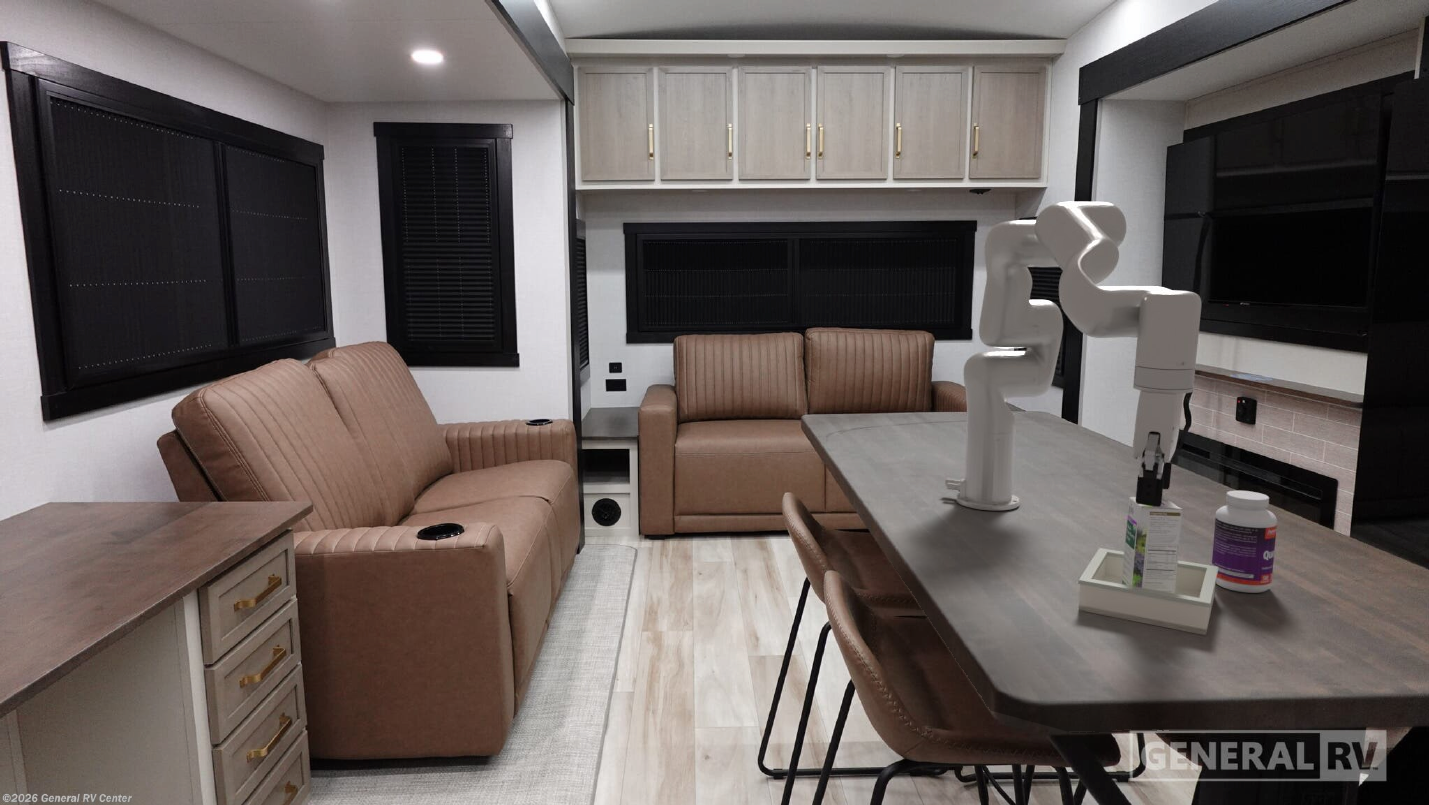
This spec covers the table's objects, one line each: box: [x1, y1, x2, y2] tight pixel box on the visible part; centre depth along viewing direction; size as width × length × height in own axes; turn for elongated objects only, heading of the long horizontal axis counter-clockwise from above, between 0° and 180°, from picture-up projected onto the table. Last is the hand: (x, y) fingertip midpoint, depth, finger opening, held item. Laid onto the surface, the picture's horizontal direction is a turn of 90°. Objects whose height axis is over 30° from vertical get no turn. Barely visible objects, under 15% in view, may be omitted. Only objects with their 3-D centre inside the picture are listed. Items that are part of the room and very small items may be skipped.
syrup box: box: [1122, 496, 1183, 594], centre depth 125 cm, size 6×6×14 cm
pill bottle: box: [1210, 490, 1278, 594], centre depth 131 cm, size 8×8×14 cm
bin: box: [1078, 547, 1218, 636], centre depth 126 cm, size 16×16×5 cm
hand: (1152, 495), depth 124 cm, fingers open, 9 cm apart
